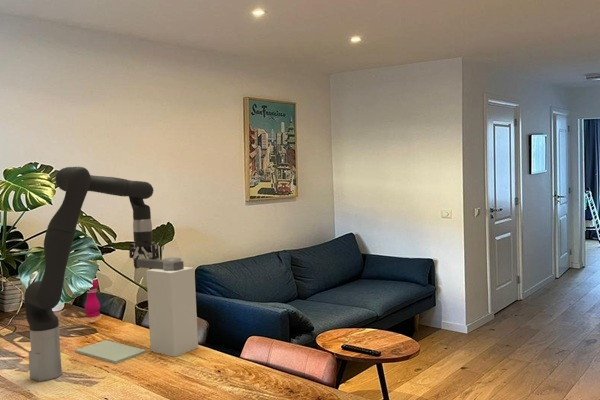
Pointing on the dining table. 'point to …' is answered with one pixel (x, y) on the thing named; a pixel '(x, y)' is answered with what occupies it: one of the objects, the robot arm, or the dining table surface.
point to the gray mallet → (161, 264)
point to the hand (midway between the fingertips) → (144, 268)
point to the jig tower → (172, 311)
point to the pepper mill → (92, 302)
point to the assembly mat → (110, 351)
